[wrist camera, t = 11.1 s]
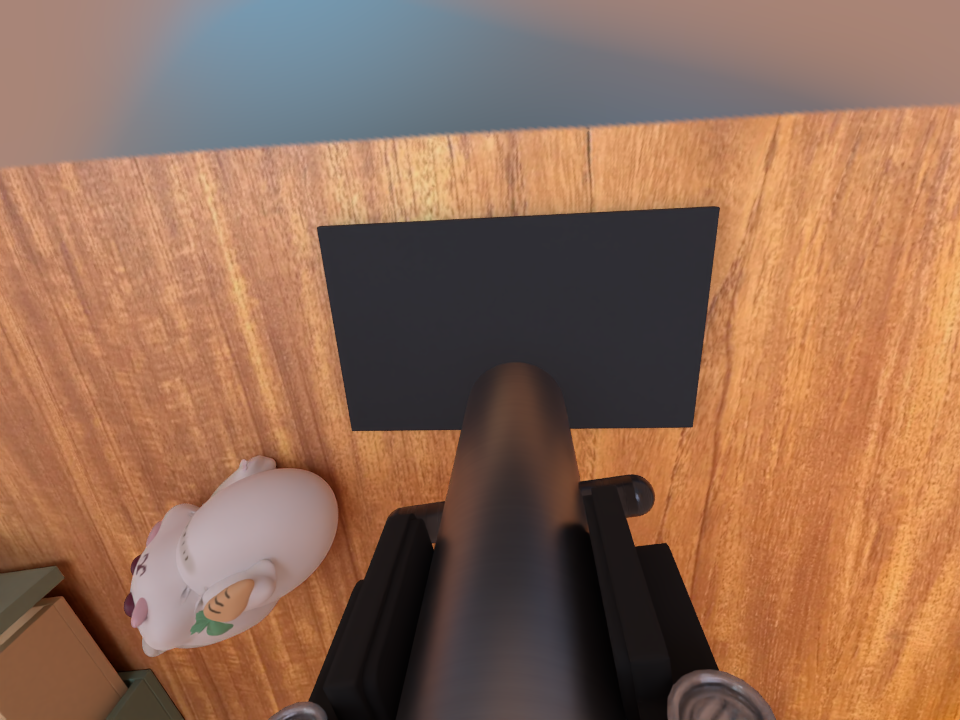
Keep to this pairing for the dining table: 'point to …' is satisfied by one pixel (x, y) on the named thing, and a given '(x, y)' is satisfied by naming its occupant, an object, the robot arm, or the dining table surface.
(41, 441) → the dining table surface
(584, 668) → the upright metal rod
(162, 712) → the cabinet
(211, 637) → the cat figurine
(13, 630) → the drawer
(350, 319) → the base plate
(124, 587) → the dining table surface
